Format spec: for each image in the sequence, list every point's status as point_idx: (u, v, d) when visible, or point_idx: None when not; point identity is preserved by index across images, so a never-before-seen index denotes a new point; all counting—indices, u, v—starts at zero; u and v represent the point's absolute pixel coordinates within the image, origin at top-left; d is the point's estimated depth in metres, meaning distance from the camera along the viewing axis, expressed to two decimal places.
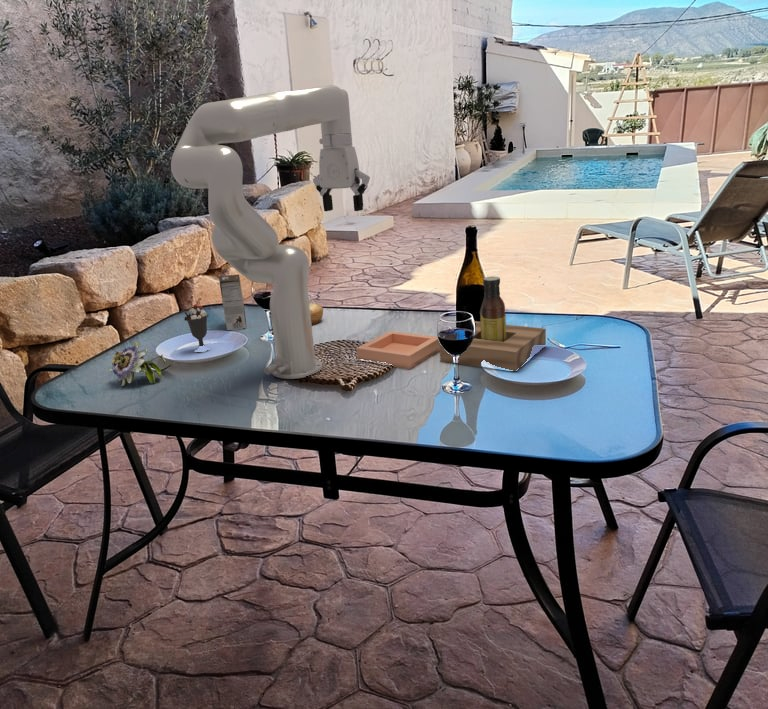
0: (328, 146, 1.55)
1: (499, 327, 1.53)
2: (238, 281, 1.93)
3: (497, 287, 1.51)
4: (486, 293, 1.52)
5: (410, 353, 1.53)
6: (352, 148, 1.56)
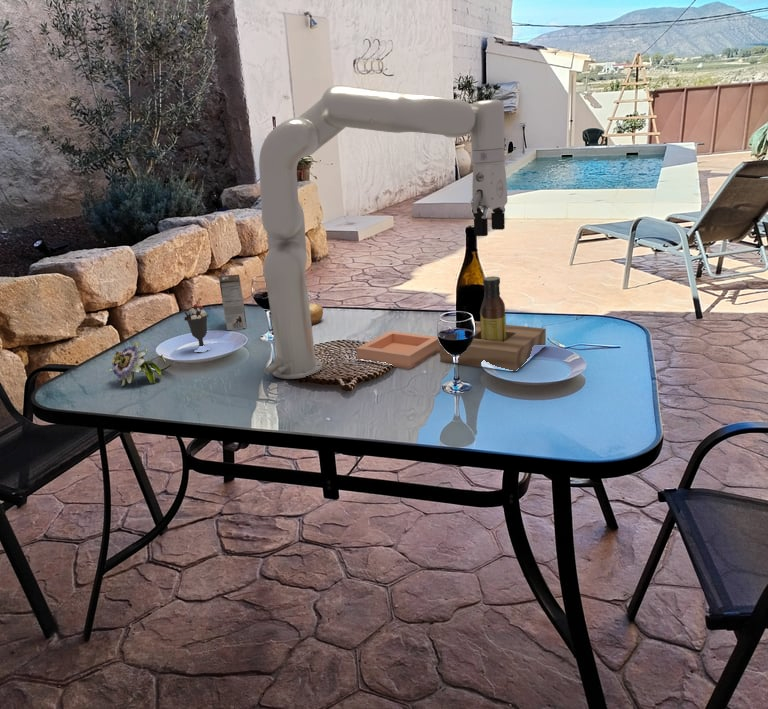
0: (502, 161, 1.42)
1: (499, 327, 1.53)
2: (238, 281, 1.92)
3: (497, 287, 1.51)
4: (486, 293, 1.52)
5: (410, 353, 1.53)
6: None
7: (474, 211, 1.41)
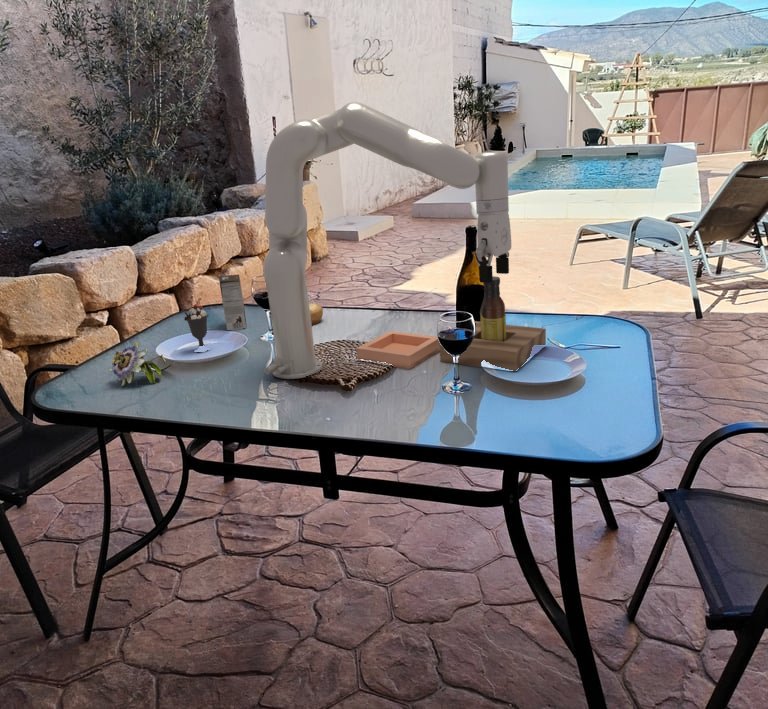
0: (506, 210, 1.45)
1: (499, 327, 1.53)
2: (238, 281, 1.92)
3: (497, 287, 1.51)
4: (486, 293, 1.52)
5: (410, 353, 1.53)
6: None
7: (479, 259, 1.44)
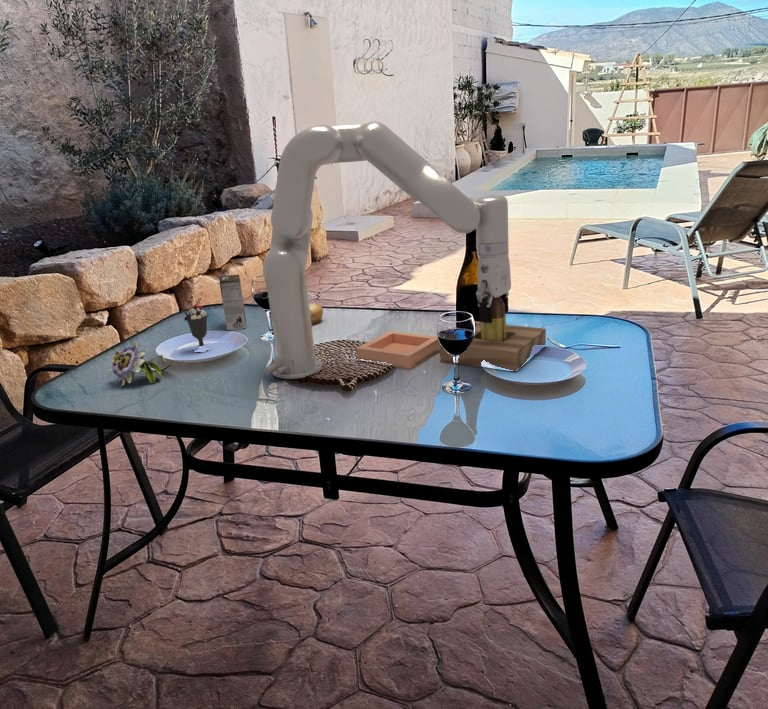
0: (506, 252, 1.48)
1: (499, 327, 1.53)
2: (238, 281, 1.92)
3: None
4: None
5: (410, 353, 1.53)
6: None
7: (479, 301, 1.48)
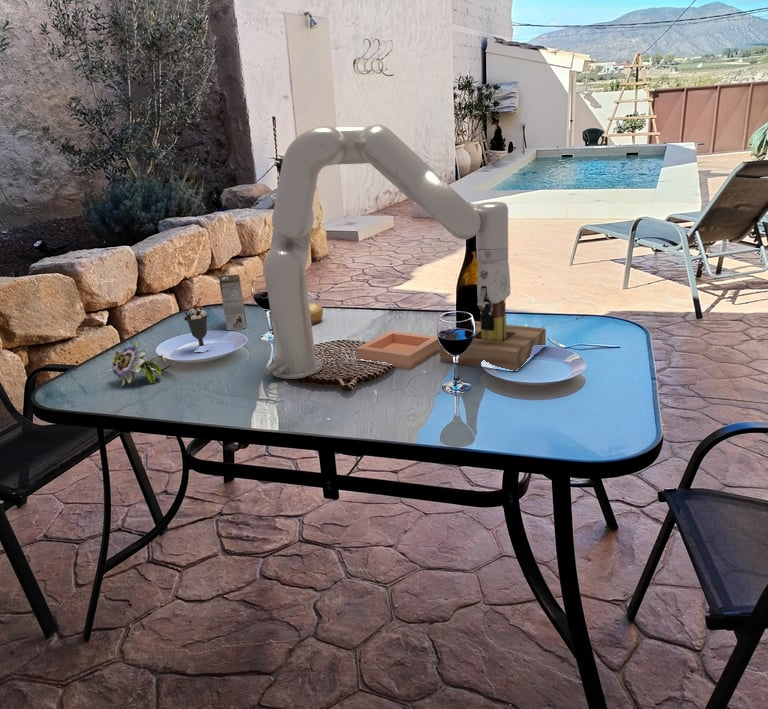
0: (506, 259, 1.49)
1: (499, 327, 1.53)
2: (238, 281, 1.92)
3: None
4: None
5: (410, 353, 1.53)
6: None
7: (481, 309, 1.50)
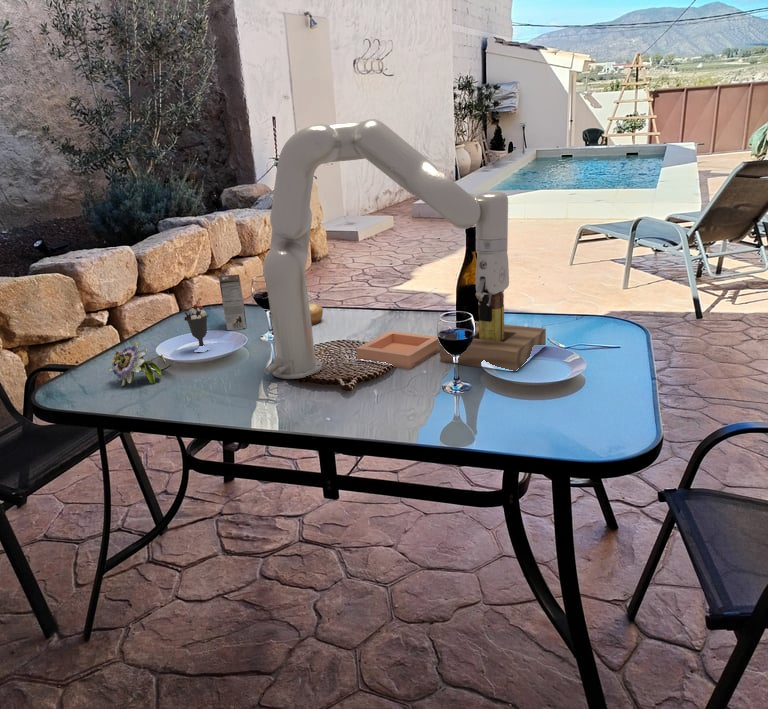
0: (505, 249, 1.48)
1: (497, 318, 1.53)
2: (238, 281, 1.92)
3: None
4: None
5: (410, 353, 1.53)
6: None
7: (480, 299, 1.49)
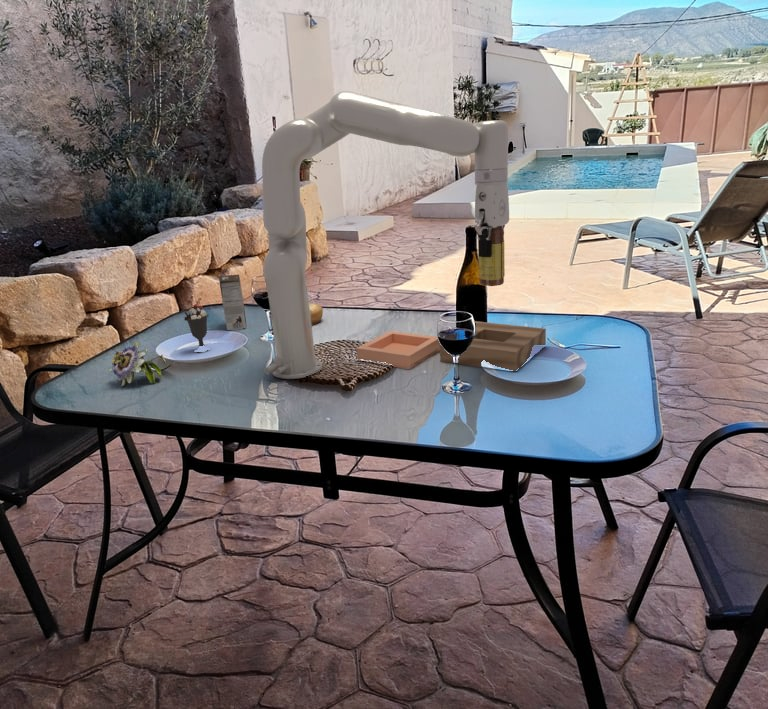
0: (505, 180, 1.43)
1: (497, 254, 1.48)
2: (238, 281, 1.92)
3: None
4: None
5: (410, 353, 1.53)
6: None
7: (479, 233, 1.44)
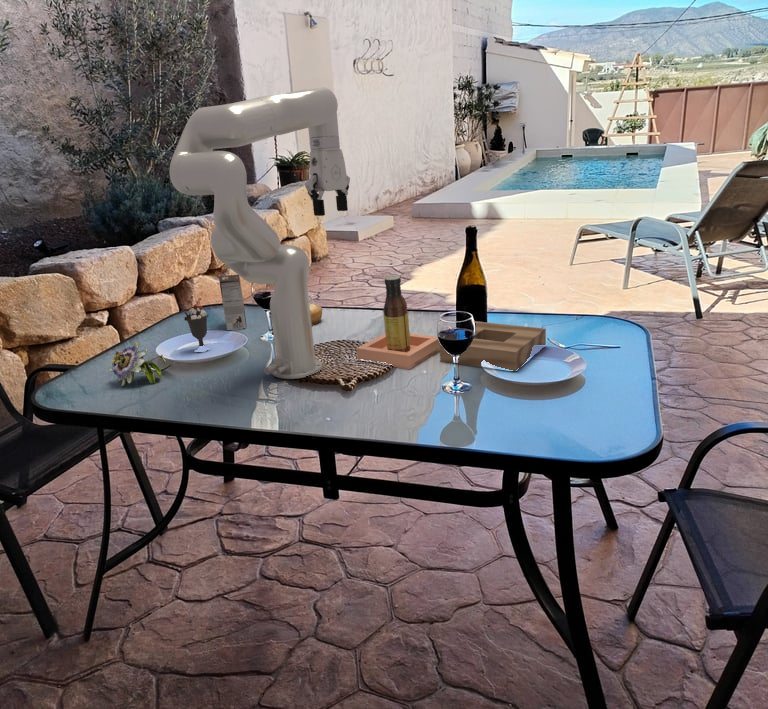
0: (336, 147, 1.56)
1: (401, 326, 1.57)
2: (238, 281, 1.92)
3: (397, 286, 1.55)
4: (387, 292, 1.56)
5: (410, 353, 1.53)
6: None
7: (309, 192, 1.56)
